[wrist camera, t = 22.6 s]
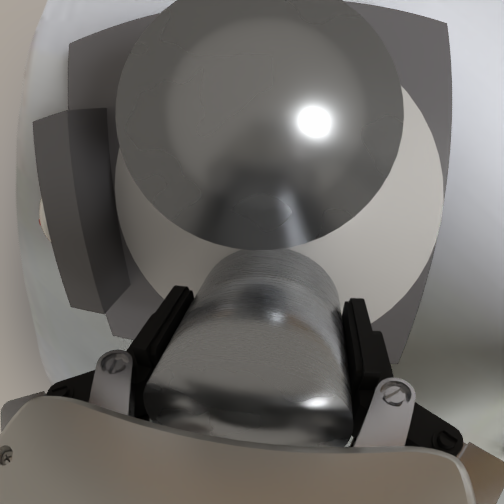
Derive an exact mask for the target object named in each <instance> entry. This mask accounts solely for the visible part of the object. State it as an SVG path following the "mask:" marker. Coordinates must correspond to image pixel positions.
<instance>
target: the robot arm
mask: <svg viewBox="0 0 504 504" xmlns="http://www.w3.org/2000/svg"><path fill="white" fill-rule="evenodd" d="M193 300H194V295H193V291H192V290H189V288H188V287H187V286H177V285H175V286H174V287H173V288H172V289H171V291H170V292H169V294H168V295H167V296H166V298H165V299H164V301H163V302H162V303H161V305H160V306H159V308H158V309H157V311H156V312H155V313H153V314H152V315H151V316H150V318H149V319H148V320H147V322H146V323H145V325H144V326H143V328H142V329H141V331H140V332H139V333H138V335H137V336H136V338H135V339H134V341H133V342H132V344H131V345H130V347H129V348H128V349H127V351H123V350H112V351H109V352H107V353H105V354H104V355H102V356H101V357H100V358H99V360H98V362H97V365H96V369H95V370H93V371H90V372H87V373H84V374H81V375H78V376H75V377H72V378H69V379H66V380H63V381H60V382H57V383H55V384H54V385H52V386H51V387H50V389H49V390H48V392H47V394H45V392H44V391H43V392H39V393H36V394H32V395H29V396H25V397H21V398H18V399H14V400H10V401H8V402H7V403H6V404H4V406H3V407H2V409H1V434H0V504H496V503H497V501H498V499H499V497H500V495H501V493H502V491H503V489H504V462H503V461H502V460H500V459H499V458H497V457H495V456H493V455H491V454H490V453H488V452H486V451H484V450H483V449H481V448H479V447H477V446H476V445H474V444H472V443H471V442H469V443H468V444H466V443H464V442H463V438H462V435H461V433H460V432H459V430H457V429H456V428H455V427H454V426H452V425H450V424H449V423H447V422H446V421H444V420H442V419H441V418H439V417H437V416H436V415H434V414H433V413H431V412H430V411H428V410H426V409H425V408H423V407H422V406H420V405H419V404H417V403H415V398H416V393H415V390H414V388H413V387H412V385H411V384H410V383H408V382H407V381H405V380H403V379H400V378H394V377H393V373H392V369H391V365H390V361H389V357H388V353H387V349H386V345H385V342H384V338H383V334H382V332H381V331H373V330H372V326H371V322H370V319H369V315H368V311H367V307H366V304H365V300H364V299H363V298H350V300H349V301H345V303H344V307H343V313H342V320H343V328H344V335H345V343H346V351H347V360H348V369H349V378H350V389H351V400H352V413H353V432H352V436H353V439H352V441H351V444H350V446H349V447H305V446H288V445H276V444H266V443H256V442H248V441H241V440H234V439H227V438H221V437H215V436H210V435H204V434H199V433H194V432H190V431H185V430H181V429H176V428H172V427H168V426H164V425H160V424H156V423H153V422H152V420H151V419H150V417H149V415H148V414H147V412H146V409H145V406H144V402H143V392H144V389H145V386H146V384H147V382H148V380H149V378H150V376H151V375H152V373H153V371H154V369H155V367H156V366H157V364H158V362H159V360H160V358H161V356H162V355H163V353H164V351H165V349H166V347H167V346H168V344H169V342H170V340H171V338H172V337H173V335H174V333H175V331H176V330H177V328H178V326H179V324H180V322H181V321H182V319H183V317H184V315H185V314H186V312H187V310H188V308H189V307H190V305H191V303H192V301H193Z"/></svg>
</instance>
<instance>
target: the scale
mask: <svg viewBox="0 0 504 504" xmlns="http://www.w3.org/2000/svg"><path fill="white" fill-rule="evenodd" d="M344 2H345V1H344ZM345 3H346V4H347V5H349V6H350V7H351V8H353V9H354V10H355V11H357V12H358V13H359V14H360V15H361V16H362V17H363V18H364V19H365V20H366V21H367V22H368V23H369V24H370V25H371V26H372V28H373V29H374V30H375V32H376V33H377V34H378V36H379V37H380V39H381V40H382V41H383V43H384V45H385V46H386V48H387V50H388V52H389V54H390V56H391V58H392V60H393V62H394V65H395V68H396V70H397V73H398V76H399V79H400V84H401V89H402V95H403V106H404V122H403V132H402V138H401V142H400V146H399V150H398V154H397V157H396V159H395V162H394V164H393V166H392V169H391V171H390V173H389V175H388V177H387V178H386V180H385V182H384V183H383V185H382V187H381V188H380V190H379V191H378V192H377V193H376V195H375V196H374V197H373V198H372V200H371V201H370V202H369V203H368V204H367V205H366V206H365V207H364V208H363V209H362V210H361V211H360V212H359V213H358V214H357V215H356V216H355V217H353V218H352V219H351V220H349V221H348V222H347V223H345V224H344V225H342V226H341V227H340V228H338V229H336V230H334V231H332V232H331V233H329V234H327V235H325V236H323V237H321V238H318V239H316V240H313V241H311V242H308V243H305V244H301V245H297V246H293V247H290V248H286V249H290V250H293V251H296V252H298V253H301V254H303V255H305V256H307V257H309V258H310V259H312V260H313V261H314V262H316V263H317V264H318V265H320V266H321V267H322V268H323V269H324V270H325V271H326V273H327V274H328V275H329V276H330V278H331V279H332V281H333V283H334V284H335V287H336V289H337V292H338V296H339V300H340V307H341V313H343V307H344V303H345V301H349V300H350V298H363V299H364V300H365V304H366V307H367V311H368V315H369V319H370V322H371V326H372V330H373V331H381V332H382V334H383V338H384V342H385V345H386V349H387V353H388V357H389V361H390V364H398V363H399V360H400V358H401V355H402V353H403V350H404V347H405V345H406V342H407V339H408V337H409V334H410V331H411V328H412V326H413V323H414V320H415V317H416V314H417V311H418V308H419V304H420V301H421V298H422V295H423V291H424V288H425V284H426V281H427V277H428V273H429V270H430V266H431V262H432V258H433V253H434V249H435V245H436V240H437V236H438V232H439V228H440V224H441V218H442V210H443V203H444V197H445V190H446V182H447V174H448V165H449V155H450V142H451V124H452V75H451V57H450V45H449V36H448V27H447V23H444V22H441V21H438V20H434V19H431V18H428V17H424V16H420V15H416V14H412V13H408V12H404V11H400V10H395V9H390V8H385V7H380V6H374V5H368V4H361V3H354V2H345ZM159 14H160V13H159ZM159 14H155V15H151V16H147V17H143V18H140V19H136V20H133V21H129V22H126V23H123V24H120V25H117V26H114V27H111V28H108V29H105V30H102V31H100V32H97V33H94V34H92V35H89V36H87V37H84V38H82V39H79V40H77V41H74V42H72V43H70V44H69V61H68V109H69V110H67V111H63V112H60V113H57V114H54V115H51V116H48V117H45V118H42V119H39V120H37V121H34V122H33V132H34V144H35V155H36V163H37V171H38V178H39V185H40V191H41V201H40V207H39V218H40V219H39V223H40V225H41V227H42V230H43V232H44V234H45V236H46V237H47V239H48V240H49V241H50V242H51V243H52V247H53V251H54V254H55V258H56V262H57V265H58V269H59V272H60V275H61V278H62V282H63V285H64V288H65V291H66V294H67V297H68V300H69V303H70V305H71V307H73V308H78V309H82V310H87V311H92V312H96V313H101V314H106V317H107V320H108V323H109V326H110V329H111V331H112V334H113V336H117V337H122V338H126V339H131V340H134V339H135V338H136V336H137V335H138V333H139V332H140V331H141V329H142V328H143V326H144V325H145V323H146V322H147V320H148V319H149V318H150V316H151V315H152V314H153V313H155V312H156V311H157V309H158V308H159V306H160V305H161V303H162V302H163V301H164V299H165V298H166V296H167V295H168V294H169V292H170V291H171V289H172V288H173V287H174V286H175V285H177V286H187V287H188V288H189V290H192V291H193V295H194V298H195V296H196V294H197V293H198V291H199V289H200V287H201V286H202V284H203V282H204V280H205V279H206V277H207V275H208V274H209V272H210V271H211V269H212V268H213V267H214V266H215V265H216V264H217V263H218V262H220V261H221V260H222V259H223V258H225V257H227V256H228V255H230V254H232V253H234V252H237V251H239V250H242V249H235V248H230V247H226V246H222V245H218V244H214V243H212V242H209V241H206V240H203V239H201V238H198V237H196V236H194V235H192V234H191V233H189V232H187V231H185V230H183V229H181V228H180V227H178V226H177V225H175V224H174V223H173V222H171V221H170V220H168V219H167V218H166V217H165V216H164V215H163V214H161V213H160V212H159V211H158V210H157V209H156V208H155V207H154V206H153V205H152V204H151V203H150V202H149V200H148V199H147V198H146V197H145V196H144V195H143V193H142V192H141V190H140V189H139V187H138V186H137V185H136V183H135V181H134V180H133V178H132V176H131V174H130V172H129V170H128V168H127V166H126V163H125V161H124V158H123V155H122V153H121V149H120V145H119V141H118V137H117V129H116V120H115V117H116V97H117V90H118V85H119V81H120V77H121V74H122V70H123V68H124V65H125V63H126V61H127V58H128V56H129V54H130V52H131V50H132V48H133V47H134V45H135V43H136V42H137V40H138V38H139V37H140V36H141V34H142V33H143V32H144V31H145V29H146V28H147V27H148V25H149V24H150V23H151V22H152V21H153V20H154V19H155V18H156V17H157V16H158V15H159Z"/></svg>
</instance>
